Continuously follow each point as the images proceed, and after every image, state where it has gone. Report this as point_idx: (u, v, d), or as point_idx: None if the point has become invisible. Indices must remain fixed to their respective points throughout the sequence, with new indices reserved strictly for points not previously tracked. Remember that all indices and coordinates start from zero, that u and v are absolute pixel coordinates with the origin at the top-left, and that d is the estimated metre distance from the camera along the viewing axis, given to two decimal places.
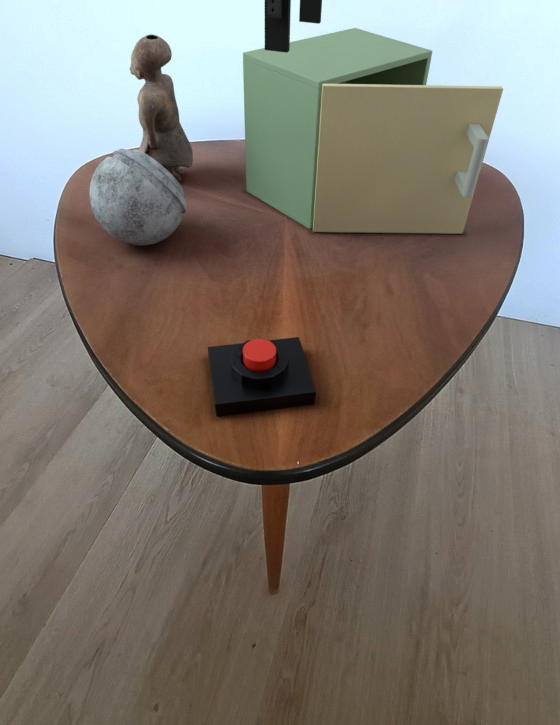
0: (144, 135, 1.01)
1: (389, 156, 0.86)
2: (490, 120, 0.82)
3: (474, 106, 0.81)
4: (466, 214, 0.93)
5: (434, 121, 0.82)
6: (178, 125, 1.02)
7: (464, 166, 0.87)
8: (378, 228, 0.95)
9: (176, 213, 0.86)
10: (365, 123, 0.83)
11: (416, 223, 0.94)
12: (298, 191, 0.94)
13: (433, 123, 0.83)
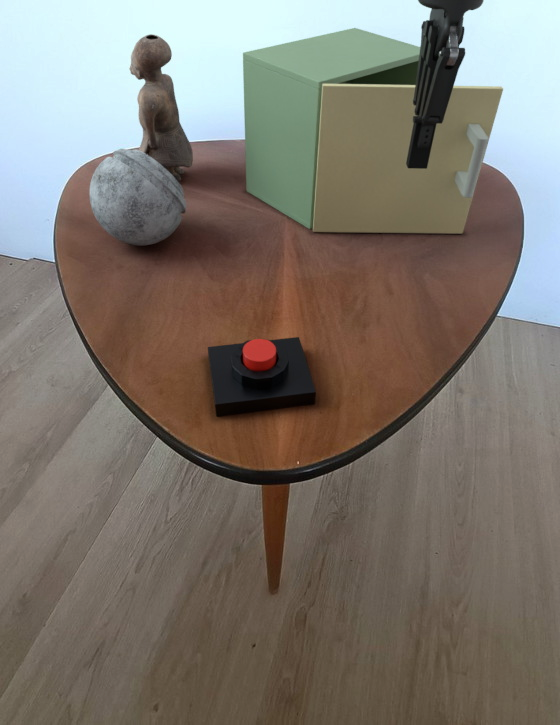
0: (144, 135, 1.01)
1: (389, 156, 0.86)
2: (490, 120, 0.82)
3: (474, 106, 0.81)
4: (466, 214, 0.93)
5: None
6: (178, 125, 1.02)
7: (464, 166, 0.87)
8: (378, 228, 0.95)
9: (176, 213, 0.86)
10: (365, 123, 0.83)
11: (416, 223, 0.94)
12: (298, 191, 0.94)
13: None
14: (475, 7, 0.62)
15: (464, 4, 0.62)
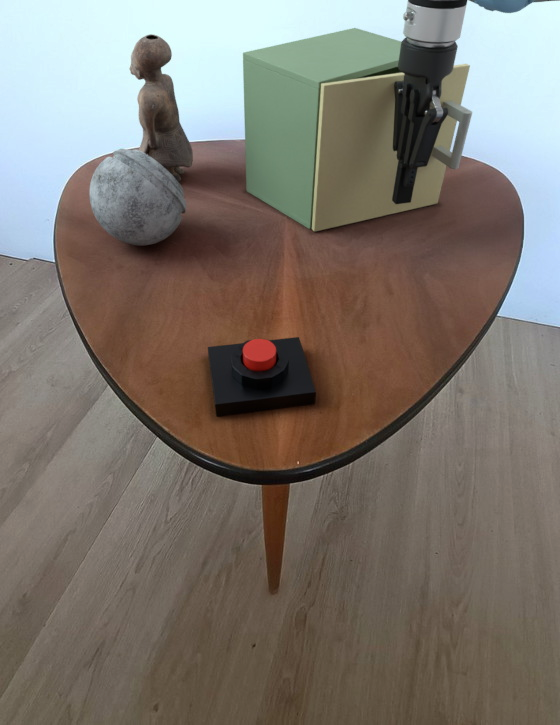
0: (144, 135, 1.01)
1: (380, 144, 0.89)
2: (459, 96, 0.90)
3: (448, 85, 0.87)
4: (440, 185, 1.01)
5: None
6: (178, 125, 1.02)
7: (439, 141, 0.94)
8: (370, 214, 0.98)
9: (176, 213, 0.86)
10: (360, 116, 0.85)
11: None
12: (298, 191, 0.94)
13: None
14: (449, 73, 0.75)
15: (442, 72, 0.74)
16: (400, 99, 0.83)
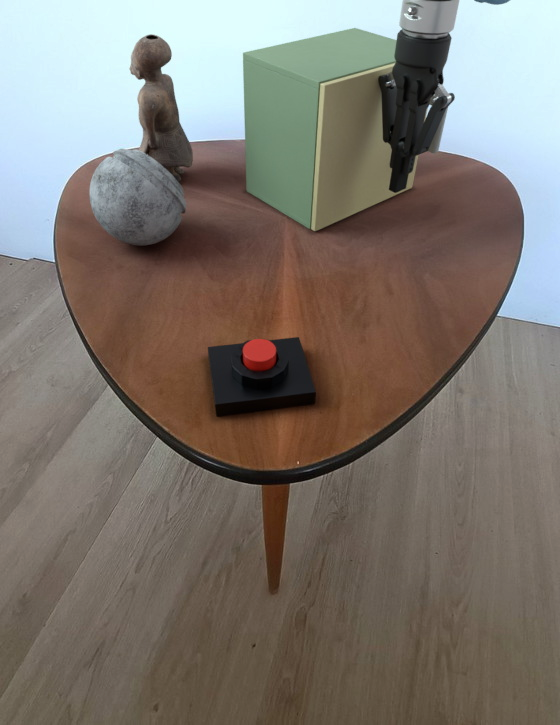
0: (144, 135, 1.01)
1: (369, 137, 0.91)
2: None
3: None
4: (414, 169, 1.05)
5: None
6: (178, 125, 1.02)
7: None
8: (360, 207, 1.00)
9: (176, 213, 0.86)
10: (354, 112, 0.86)
11: (384, 191, 1.02)
12: (298, 191, 0.94)
13: None
14: None
15: (444, 61, 0.78)
16: (388, 92, 0.85)
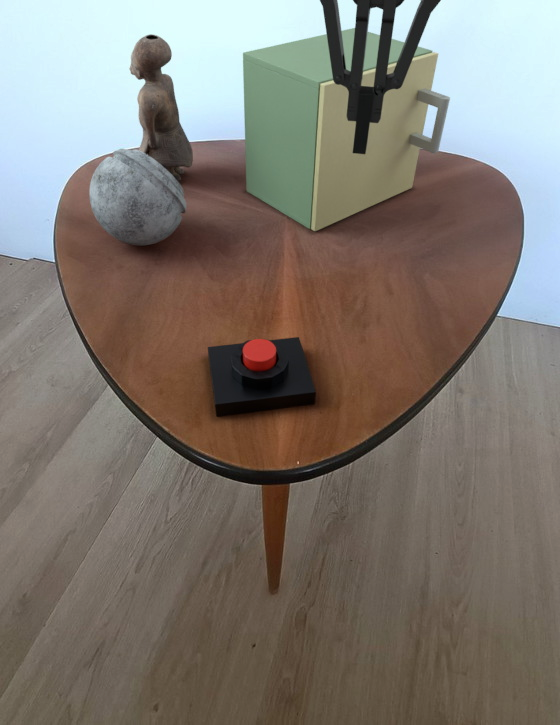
0: (144, 135, 1.01)
1: (369, 137, 0.91)
2: (430, 83, 0.94)
3: (422, 73, 0.91)
4: (414, 169, 1.05)
5: (398, 95, 0.90)
6: (178, 125, 1.02)
7: (414, 128, 0.98)
8: (360, 207, 1.00)
9: (176, 213, 0.86)
10: None
11: (384, 191, 1.02)
12: (298, 191, 0.94)
13: (397, 97, 0.90)
14: None
15: None
16: (334, 3, 0.55)
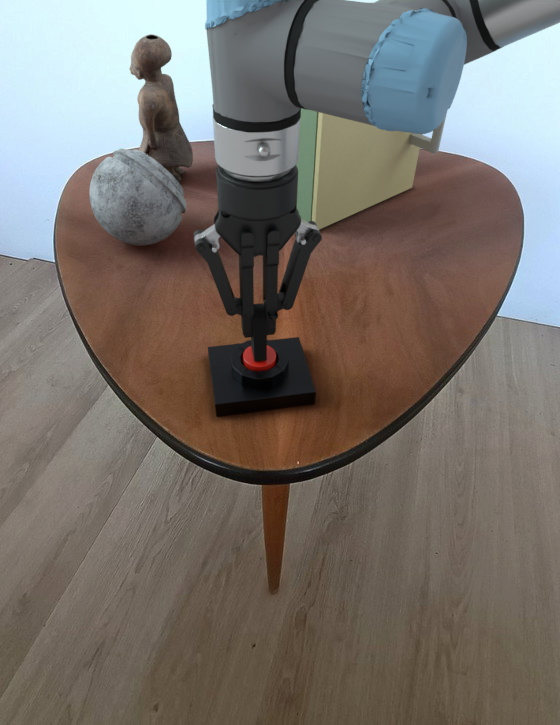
0: (144, 135, 1.01)
1: (369, 137, 0.91)
2: None
3: None
4: (414, 169, 1.05)
5: None
6: (178, 125, 1.02)
7: None
8: (360, 207, 1.00)
9: (176, 213, 0.86)
10: None
11: (384, 191, 1.02)
12: (298, 191, 0.94)
13: None
14: None
15: None
16: (218, 257, 0.55)
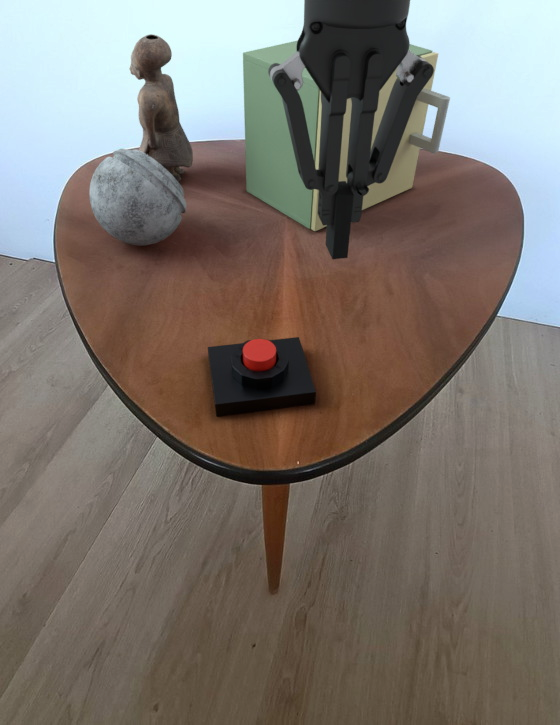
0: (144, 135, 1.01)
1: None
2: (430, 83, 0.94)
3: None
4: (414, 169, 1.05)
5: None
6: (178, 125, 1.02)
7: (414, 128, 0.98)
8: None
9: (176, 213, 0.86)
10: None
11: (384, 191, 1.02)
12: (298, 191, 0.94)
13: None
14: None
15: None
16: (300, 98, 0.43)
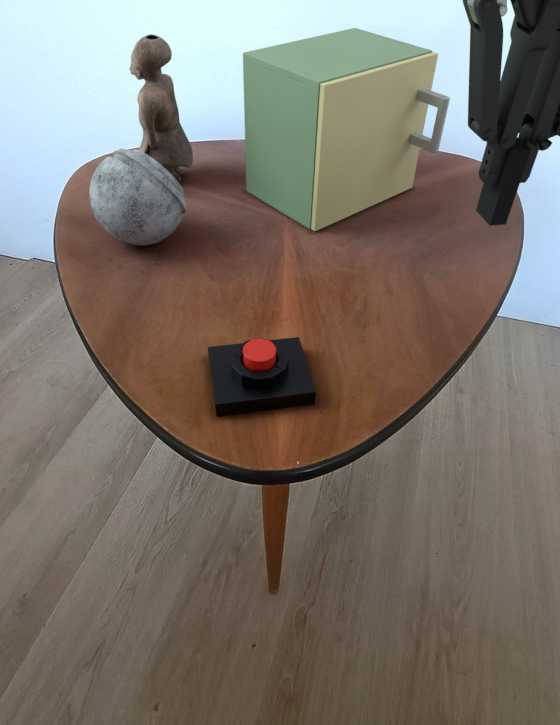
0: (144, 135, 1.01)
1: (369, 137, 0.91)
2: (430, 83, 0.94)
3: (422, 73, 0.91)
4: (414, 169, 1.05)
5: (398, 95, 0.90)
6: (178, 125, 1.02)
7: (414, 128, 0.98)
8: (360, 207, 1.00)
9: (176, 213, 0.86)
10: (354, 112, 0.86)
11: (384, 191, 1.02)
12: (298, 191, 0.94)
13: (397, 97, 0.90)
14: None
15: None
16: None
